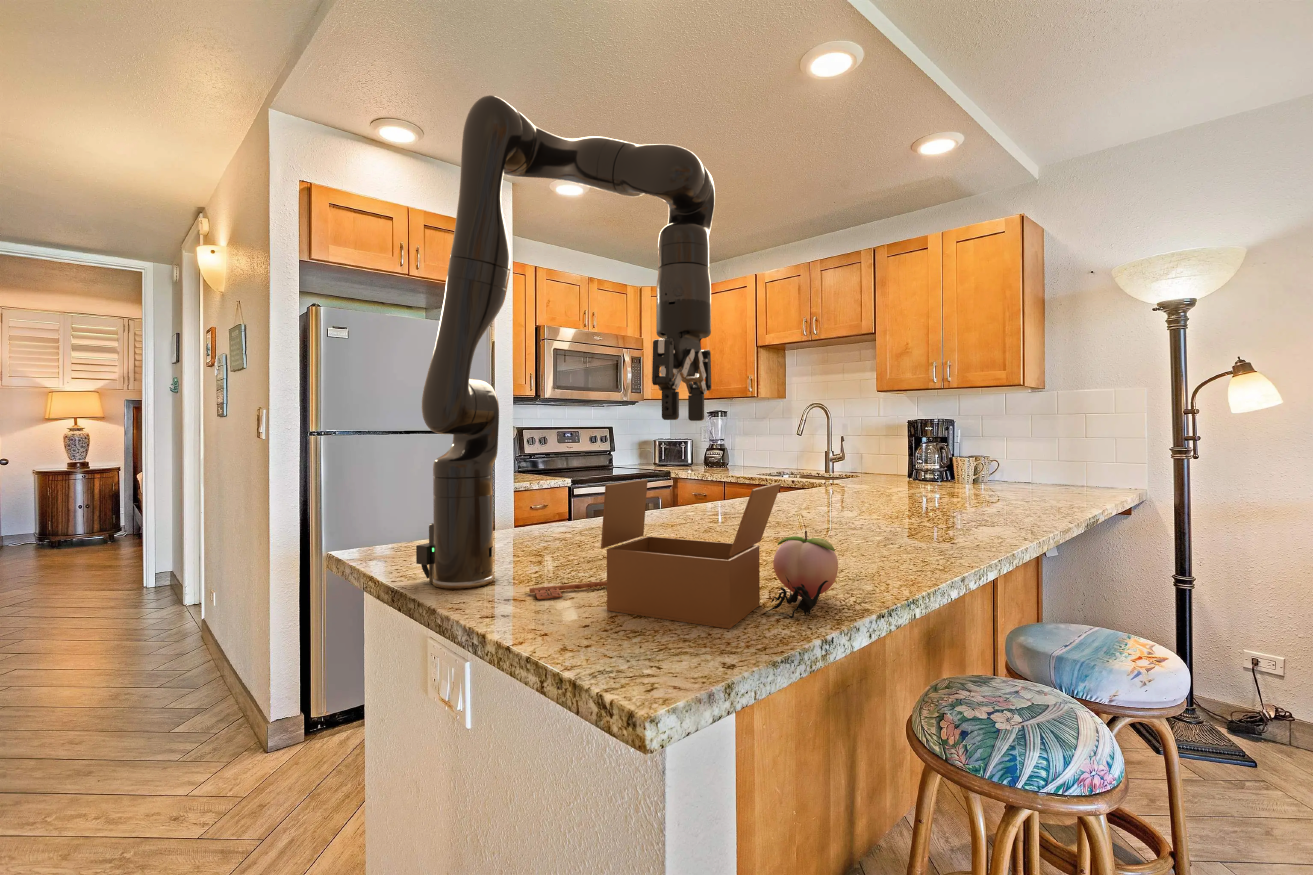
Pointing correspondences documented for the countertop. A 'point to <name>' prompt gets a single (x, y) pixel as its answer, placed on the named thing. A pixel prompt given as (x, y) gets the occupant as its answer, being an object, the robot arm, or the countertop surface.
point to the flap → (755, 517)
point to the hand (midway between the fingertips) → (683, 420)
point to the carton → (673, 568)
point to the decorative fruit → (806, 563)
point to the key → (555, 591)
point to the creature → (805, 602)
